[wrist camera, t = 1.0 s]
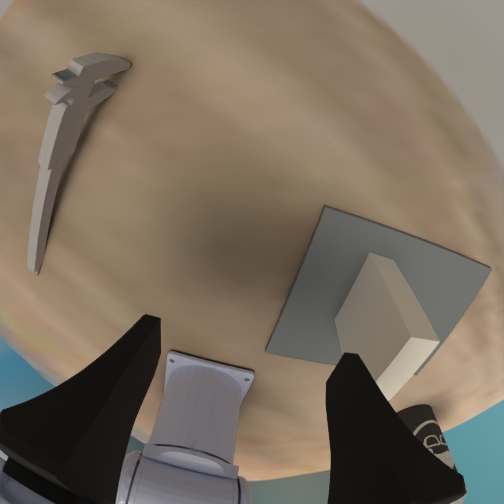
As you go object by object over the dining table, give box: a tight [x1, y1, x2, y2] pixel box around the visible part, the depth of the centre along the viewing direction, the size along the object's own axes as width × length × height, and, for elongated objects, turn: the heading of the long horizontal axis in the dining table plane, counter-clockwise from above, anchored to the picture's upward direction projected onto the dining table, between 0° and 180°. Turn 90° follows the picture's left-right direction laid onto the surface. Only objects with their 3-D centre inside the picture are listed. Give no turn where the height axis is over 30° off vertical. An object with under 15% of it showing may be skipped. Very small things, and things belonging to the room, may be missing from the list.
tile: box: [335, 252, 440, 401], centre depth 17 cm, size 6×2×8 cm, turn 165°
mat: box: [265, 205, 492, 375], centre depth 21 cm, size 13×16×1 cm
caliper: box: [27, 52, 130, 276], centre depth 16 cm, size 20×1×6 cm, turn 141°
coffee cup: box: [397, 405, 467, 504], centre depth 23 cm, size 10×10×15 cm
